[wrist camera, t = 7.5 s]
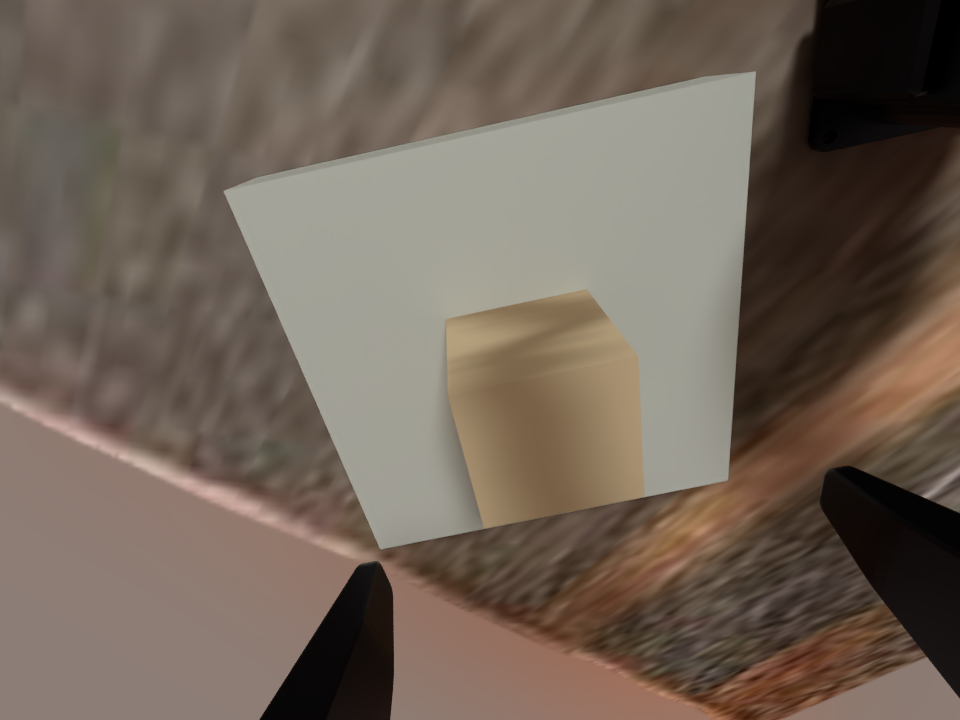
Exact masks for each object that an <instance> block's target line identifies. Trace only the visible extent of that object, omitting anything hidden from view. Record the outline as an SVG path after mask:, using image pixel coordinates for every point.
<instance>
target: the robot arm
mask: <svg viewBox="0 0 960 720" xmlns="http://www.w3.org/2000/svg"><path fill="white" fill-rule="evenodd" d="M813 94H814V95H813V104H812V112H811V120H810V128H809V137H808V143H809V146H810V148H811V149H813V150H815V151H821V152H828V151H833V150H837V149H842V148H847V147H851V146H856V145H860V144H865V143H869V142H874V141H879V140H883V139H888V138H892V137H897V136H902V135H906V134H911V133H915V132H920V131H924V130H929V129H934V128H938V127H951V128H960V0H825V4H824V9H823V10H822V15H821V24H820V32H819V40H818V49H817V57H816V66H815V74H814V82H813ZM827 130H828V131H829V136H828V139H827V140H826V141H825V142H823V139H822V138H823V135H824V134H825V132H826V131H827ZM820 505H821V508H822V510H823V512H824V514H825V515H826V517H827V518H828V520H829V521H830V523H831V524H832V526H833V528H834V529H835V531H836V532H837V534H838V535H839V537H840V538H841V540H842V542H843V543H844V545H845V546H846V548H847V549H848V551H849V552H850V554H851V556H852V557H853V559H854V560H855V562H856V563H857V565H858V566H859V568H860V570H861V571H862V573H863V574H864V576H865V577H866V578H867V580H868V581H869V583H870V584H871V586H872V587H873V588H874V590H875V591H876V592H877V594H878V595H879V596H880V598H881V599H882V600H883V601H884V603H885V604H886V605H887V606H888V608H889V609H890V610H891V612H892V613H893V614H894V615H895V617H896V618H897V619H898V620H899V622H900V623H901V624H902V626H903V627H904V628H905V629H906V631H907V632H908V633H909V634H910V636H911V637H912V638H913V640H914V641H915V642H916V643H917V645H918V646H919V647H920V648H921V650H922V651H923V652H924V654H925V655H926V656H927V657H928V659H929V660H930V661H931V662H932V664H933V665H934V666H935V667H936V669H937V670H938V671H939V673H940V674H941V675H942V676H943V678H944V679H945V680H946V682H947V683H948V684H949V685H950V686H951V688H952V689H953V690H954V692H955V693H956V694H957V696H958V697H959V698H960V513H958V512H956V511H954V510H951V509H949V508H947V507H944V506H942V505H940V504H937V503H935V502H933V501H931V500H928V499H926V498H924V497H921V496H919V495H917V494H914V493H912V492H910V491H908V490H905V489H903V488H901V487H898V486H896V485H894V484H891V483H889V482H887V481H885V480H882V479H880V478H878V477H875V476H873V475H871V474H868V473H866V472H864V471H862V470H859V469H857V468H854V467H851V466H842V467H837V468H832V469H828V470H827V471H826V472H825V474H824V478H823V483H822V489H821V494H820ZM393 637H394V636H393V592H392V587H391V585H390V583H389V580H388V578H387V576H386V574H385V572H384V569H383V567H382V565H381V564H380V563H379V562H378V561H373V562H368V563H363V564H360V565H359V566H358V567H357V568H356V569H355V571H354V573H353V574H352V576H351V577H350V579H349V580H348V582H347V584H346V585H345V587H344V588H343V590H342V591H341V593H340V594H339V596H338V597H337V599H336V601H335V603H334V604H333V605H332V607H331V608H330V610H329V612H328V613H327V615H326V616H325V618H324V619H323V621H322V623H321V624H320V626H319V627H318V629H317V631H316V632H315V633H314V635H313V637H312V638H311V640H310V641H309V643H308V645H307V646H306V648H305V649H304V651H303V652H302V654H301V655H300V657H299V658H298V660H297V662H296V663H295V665H294V666H293V668H292V670H291V671H290V673H289V674H288V676H287V677H286V679H285V681H284V682H283V684H282V685H281V687H280V688H279V690H278V691H277V693H276V695H275V696H274V698H273V699H272V701H271V703H270V704H269V705H268V707H267V709H266V710H265V712H264V713H263V715H262V717H261V718H260V720H390V715H391V704H392V693H393V679H394V641H393V640H394V638H393Z"/></svg>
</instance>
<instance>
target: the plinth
mask: <svg viewBox="0 0 960 720" xmlns="http://www.w3.org/2000/svg"><path fill="white" fill-rule="evenodd" d="M755 77H756V72H747V73H737V74H726V75H716V76H706V77H701V78H697V79H692V80H688V81H684V82H679V83H675V84H670V85H666V86H661V87H657V88H652V89H648V90H644V91H639V92H635V93H630V94H626V95H621V96H617V97H612V98H608V99H603V100H599V101H595V102H590V103H586V104H581V105H577V106H572V107H568V108H563V109H559V110H555V111H550V112H546V113H541V114H537V115H532V116H528V117H523V118H519V119H515V120H510V121H506V122H501V123H497V124H492V125H488V126H483V127H479V128H475V129H470V130H466V131H461V132H457V133H452V134H448V135H443V136H439V137H434V138H430V139H426V140H421V141H417V142H412V143H408V144H403V145H399V146H394V147H390V148H386V149H381V150H377V151H372V152H368V153H363V154H359V155H354V156H350V157H346V158H341V159H337V160H332V161H328V162H323V163H319V164H314V165H310V166H306V167H301V168H297V169H292V170H288V171H283V172H279V173H274V174H270V175H265V176H261V177H257V178H254V179H252V180H250V181H247V182H245V183H242V184H240V185H237V186H235V187H232V188H230V189H228V190H225V191H224V193H225V195H226V198H227V200H228V202H229V205H230V207H231V209H232V211H233V214H234V216H235V218H236V221H237V223H238V225H239V227H240V230H241V232H242V234H243V237H244V239H245V241H246V243H247V246H248V248H249V250H250V253H251V255H252V257H253V259H254V262H255V264H256V266H257V269H258V271H259V273H260V275H261V278H262V280H263V282H264V285H265V287H266V289H267V291H268V294H269V296H270V298H271V301H272V303H273V305H274V307H275V310H276V312H277V314H278V317H279V319H280V321H281V323H282V326H283V328H284V330H285V333H286V335H287V337H288V340H289V342H290V344H291V346H292V349H293V351H294V353H295V356H296V358H297V360H298V362H299V365H300V367H301V369H302V372H303V374H304V376H305V378H306V381H307V383H308V385H309V388H310V390H311V392H312V394H313V397H314V399H315V401H316V404H317V406H318V408H319V410H320V413H321V415H322V417H323V420H324V422H325V424H326V426H327V429H328V431H329V433H330V436H331V438H332V440H333V442H334V445H335V447H336V449H337V452H338V454H339V456H340V458H341V461H342V463H343V465H344V468H345V470H346V472H347V474H348V477H349V479H350V481H351V484H352V486H353V488H354V490H355V493H356V495H357V497H358V500H359V502H360V504H361V506H362V509H363V511H364V513H365V516H366V518H367V520H368V522H369V525H370V527H371V529H372V532H373V534H374V536H375V538H376V541H377V543H378V545H379V548H380V549H385V548H390V547H395V546H400V545H405V544H410V543H415V542H420V541H425V540H430V539H436V538H441V537H446V536H451V535H456V534H461V533H466V532H471V531H476V530H481V529H484V526H483V522H482V518H481V515H480V511H479V507H478V504H477V500H476V497H475V493H474V489H473V486H472V482H471V478H470V475H469V471H468V468H467V464H466V460H465V457H464V453H463V449H462V446H461V442H460V438H459V435H458V431H457V428H456V424H455V420H454V417H453V413H452V409H451V406H450V402H449V399H448V390H447V343H446V319H448V318H453V317H457V316H462V315H467V314H472V313H476V312H481V311H486V310H490V309H495V308H500V307H505V306H509V305H514V304H519V303H523V302H528V301H533V300H538V299H542V298H547V297H552V296H556V295H561V294H566V293H570V292H575V291H580V290H585V289H587V290H588V292H589V293H590V294H591V296H592V297H593V298H594V299H595V301H596V302H597V303H598V305H599V306H600V307H601V308H602V310H603V311H604V312H605V314H606V315H607V316H608V317H609V319H610V320H611V321H612V323H613V324H614V325H615V326H616V328H617V329H618V330H619V332H620V333H621V334H622V335H623V337H624V338H625V339H626V341H627V342H628V343H629V344H630V346H631V347H632V348H633V350H634V351H635V352H636V353H637V355H638V360H639V383H640V406H641V428H642V451H643V473H644V496H645V497H647V496H652V495H658V494H663V493H668V492H673V491H678V490H683V489H688V488H693V487H698V486H703V485H708V484H713V483H718V482H723V481H728V473H729V459H730V444H731V429H732V415H733V400H734V385H735V370H736V356H737V341H738V326H739V312H740V297H741V282H742V268H743V253H744V238H745V224H746V209H747V194H748V179H749V165H750V150H751V135H752V121H753V106H754V91H755ZM611 504H612V503H611ZM606 505H607V504H606ZM601 506H602V505H601ZM596 507H597V506H596ZM591 508H592V507H591ZM586 509H587V508H586ZM581 510H582V509H581ZM576 511H577V510H576ZM571 512H572V511H571ZM566 513H567V512H566ZM561 514H562V513H561ZM556 515H557V514H556ZM551 516H552V515H551ZM546 517H547V516H546ZM510 524H511V523H510ZM505 525H506V524H505ZM500 526H501V525H500ZM495 527H496V526H495ZM490 528H491V527H490ZM485 529H486V528H485Z"/></svg>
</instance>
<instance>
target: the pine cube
mask: <svg viewBox="0 0 960 720" xmlns="http://www.w3.org/2000/svg"><path fill="white" fill-rule="evenodd" d="M446 343H447V390H448V399H449V402H450V406H451V409H452V413H453V417H454V420H455V424H456V428H457V431H458V435H459V438H460V442H461V446H462V449H463V453H464V457H465V460H466V464H467V468H468V471H469V475H470V478H471V482H472V486H473V489H474V493H475V497H476V500H477V504H478V507H479V511H480V515H481V518H482V522H483V526H484V529H485V528H490V527H495V526H500V525H505V524H510V523H516V522H521V521H526V520H531V519H536V518H541V517H546V516H551V515H556V514H561V513H566V512H571V511H576V510H581V509H586V508H591V507H596V506H601V505H606V504H611V503H617V502H622V501H627V500H632V499H637V498H642V497H645V496H644V473H643V451H642V428H641V406H640V383H639V360H638V355H637V353H636V352H635V351H634V350H633V348H632V347H631V346H630V344H629V343H628V342H627V341H626V339H625V338H624V337H623V335H622V334H621V333H620V332H619V330H618V329H617V328H616V326H615V325H614V324H613V323H612V321H611V320H610V319H609V317H608V316H607V315H606V314H605V312H604V311H603V310H602V308H601V307H600V306H599V305H598V303H597V302H596V301H595V299H594V298H593V297H592V296H591V294H590V293H589V292H588V290H587V289H585V290H580V291H575V292H570V293H566V294H561V295H556V296H552V297H547V298H542V299H538V300H533V301H528V302H523V303H519V304H514V305H509V306H505V307H500V308H495V309H490V310H486V311H481V312H476V313H472V314H467V315H462V316H457V317H453V318H448V319H446Z"/></svg>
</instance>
